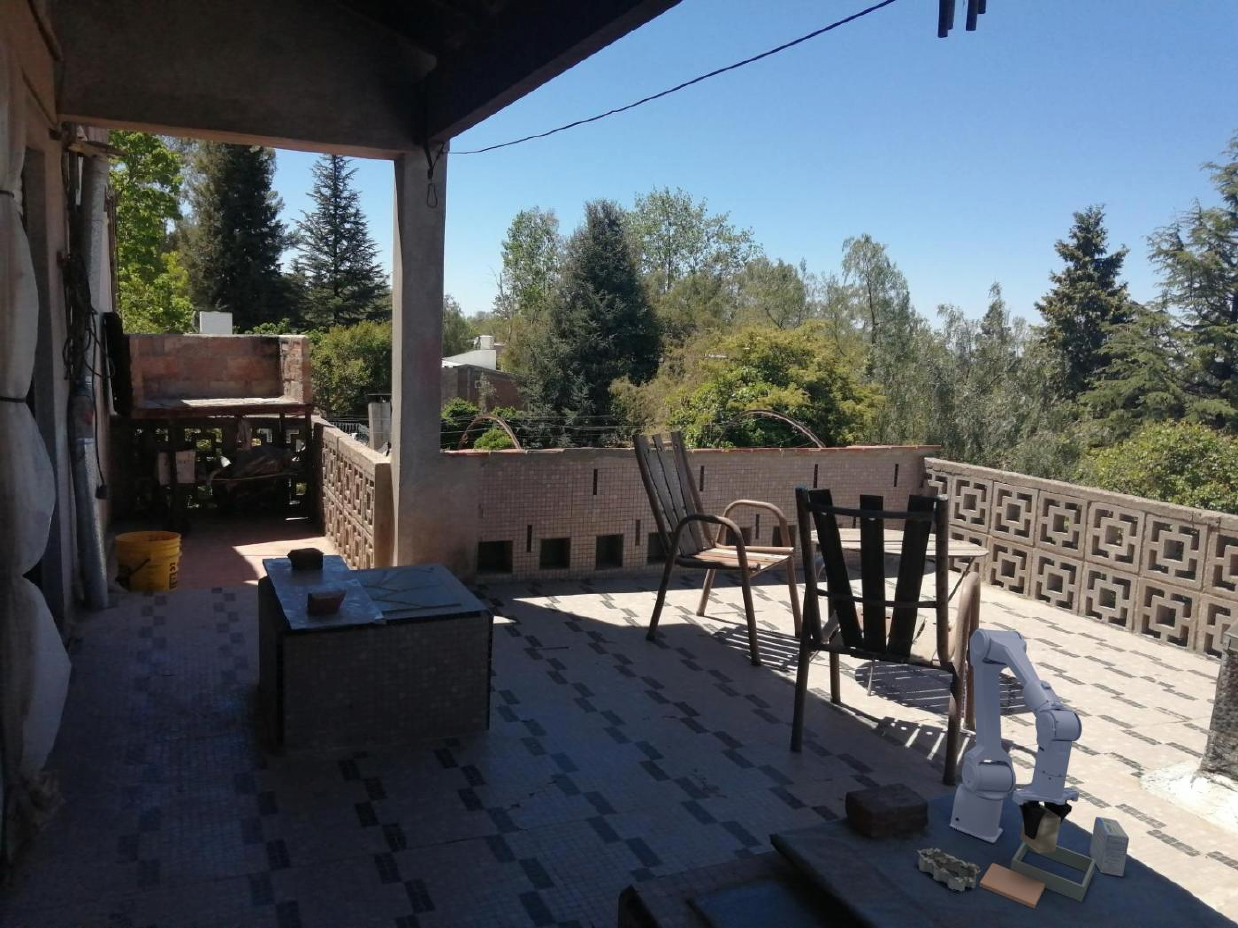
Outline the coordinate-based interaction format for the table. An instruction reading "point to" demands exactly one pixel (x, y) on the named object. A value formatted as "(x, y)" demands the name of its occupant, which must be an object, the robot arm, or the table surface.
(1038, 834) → the block
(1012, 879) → the pad
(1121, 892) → the table surface
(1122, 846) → the medicine box
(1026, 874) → the bin
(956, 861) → the egg carton
